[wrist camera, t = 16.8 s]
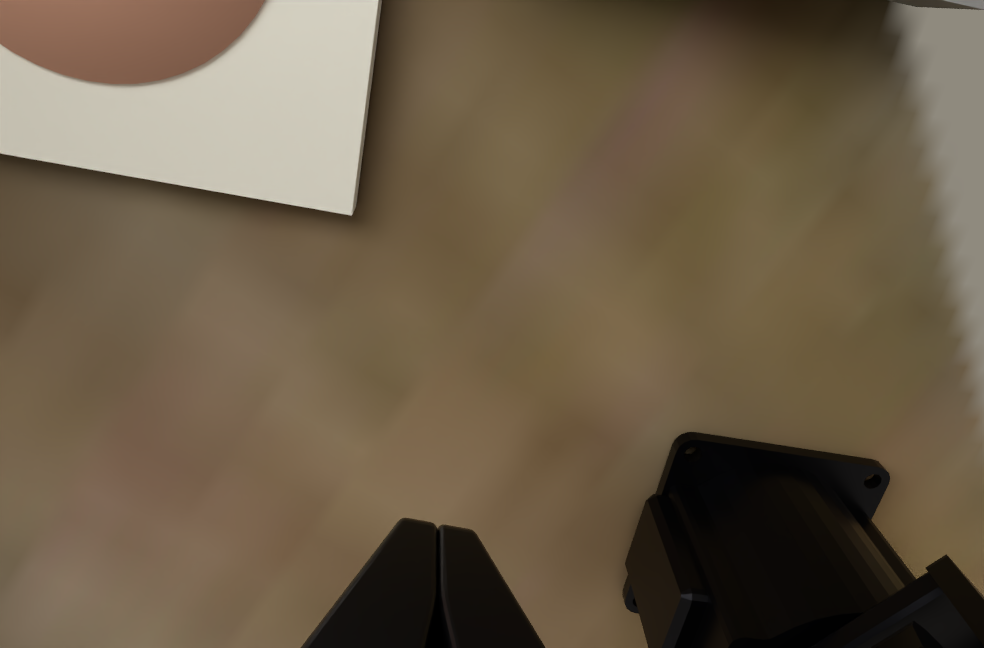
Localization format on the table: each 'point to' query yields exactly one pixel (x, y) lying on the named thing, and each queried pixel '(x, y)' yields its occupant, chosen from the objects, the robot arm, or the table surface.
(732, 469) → the robot arm
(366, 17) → the white square board
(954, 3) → the button housing
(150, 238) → the table surface
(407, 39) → the table surface
